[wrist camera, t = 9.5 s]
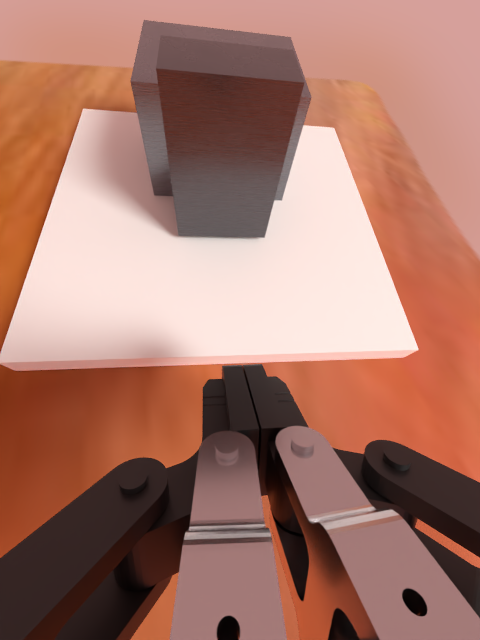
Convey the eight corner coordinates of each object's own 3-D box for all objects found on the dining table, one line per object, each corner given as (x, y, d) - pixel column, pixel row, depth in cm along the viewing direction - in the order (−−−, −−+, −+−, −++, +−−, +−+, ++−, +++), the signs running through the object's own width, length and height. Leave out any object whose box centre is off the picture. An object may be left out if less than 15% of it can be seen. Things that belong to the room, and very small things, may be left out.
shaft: (178, 235, 19) (155, 68, 11) (184, 85, 27) (175, -68, 19) (264, 237, 19) (304, 82, 11) (243, 90, 28) (257, -54, 20)
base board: (15, 370, 15) (-3, 362, 14) (89, 126, 26) (83, 108, 25) (403, 357, 18) (418, 349, 17) (328, 142, 29) (333, 127, 28)
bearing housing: (154, 195, 21) (130, 81, 14) (160, 133, 24) (143, 20, 18) (281, 200, 22) (311, 97, 16) (270, 140, 26) (290, 37, 19)
